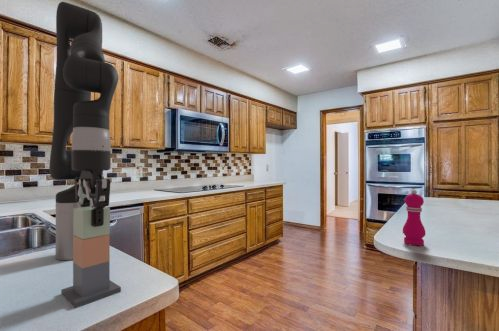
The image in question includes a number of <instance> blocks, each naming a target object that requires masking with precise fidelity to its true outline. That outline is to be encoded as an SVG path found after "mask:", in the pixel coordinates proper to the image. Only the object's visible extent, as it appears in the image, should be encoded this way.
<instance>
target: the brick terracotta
mask: <svg viewBox="0 0 499 331" xmlns="http://www.w3.org/2000/svg"><path fill="white" fill-rule="evenodd" d="M110 237H111V236H110V234H108V235H103V236H98V237H92V238H87V239H81V238H79V237H77V236H74V235H73V259H72V263H73V262H74V263H75V264H77V265H78V266H80V267H81V268H86V267H89V266H93V265H97V264H101V263H104V262H108V261H110V256H111V255H110V254H111V253H110V246H111V245H110V243H111V242H110V240H111V239H110ZM110 262H111V261H110Z"/></svg>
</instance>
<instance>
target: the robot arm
mask: <svg viewBox="0 0 499 331" xmlns="http://www.w3.org/2000/svg"><path fill="white" fill-rule="evenodd" d="M55 22H56V23H55V25H56V26H55V29H56V30H55V31H56V32H55V33H56V34H55V36H56V37H55V38H56V66H55V77H54V78H55V79H54V88H53V127H52V128H53V129H52V139H51V149H50V156H49V168H48V169H49V175H50V177H51V178H52V180H55V181H58V180H59V181H65V180H66V181H67V180H69V181H70V180H71V181H72V180H74V185H72V186H70V187H69V188H66V189H64V190H60V191H59V192H57V193H56V194H55V260H58V261H73V208H80V207H89V206H91V208H92V210H91V225H92V226H93V227H97V226H102V225H103V224H104V209H103V208H105V207H109V206H110V198H111V196H110V194H111V179H110V178H105V177H104V173H103V172H104V171H109V170H111V165H112V164H111V148H112V147H111V145H112V144H111V133H110V113H111V106H112V101H113V97H114V95H115V92H116V88H117V86H118V82H119V74H118V70H117V69H116V67H115V66H114V65H113V64H111V63H109V62H106V59H105V56H104V52H103V23H102V18H101V17H100V15H99V14H98V13H96V12H94V11H92V10H90V9H87V8H84V7H82V6H79V5H75V4H73V3H69V2H68V1H67V2H66V1H60V2H59V3H58V5H57V7H56V16H55ZM70 40H72V41H71V43H70ZM92 93H96V94H99V97H98V98H97V99H92ZM70 136H71V149H70V150H69V149H66V148H67V144H68V141H69V140H70Z"/></svg>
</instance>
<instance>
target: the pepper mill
mask: <svg viewBox="0 0 499 331" xmlns="http://www.w3.org/2000/svg"><path fill="white" fill-rule="evenodd" d="M404 203H405V205H406V207H405V208H406V209H405V211H407V219H406V221H405V223H404V225H403V227H402V234H403V235H404V236H405V237H403V242H405V243H404V244H406V243H407V244H406V245H408V244H411V245H410V246H413V245H423V246H425V240H424V239H423V238H424V237H425V236H426V228H425V226H424V224H423V223H422V221H421V220H422V219H421V212H423V210H422V209H423V207H422V206H424V203H425V201H424V197H423V196H422V195H420V194H418V192H417V190H416V189H411V193H409V194H407V195H406V196H405V197H404Z"/></svg>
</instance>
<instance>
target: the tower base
mask: <svg viewBox="0 0 499 331" xmlns="http://www.w3.org/2000/svg"><path fill="white" fill-rule="evenodd" d="M110 262H111V261H108V262H104V263H101V264H97V265H93V266H89V267H86V268H81V267H80V266H78V265H77V264H75V263H74V262H73V261H72V268H73V269H72V286H68V287H65V288H62V289H61V292H60V293H61V295H62V296H63V298H64V299H66V301H68V302H69V303H70V304H71V305H72V306H73V307H74V308H75V309H76V308H79V307H82V306H85V305H88V304H90V303H93V302H96V301H99V300H101V299H104V298H107V297H110V296H113V295H115V294H118V293H121V292H122V286H120V285H118V284H117V283H115V282H113V281H112V280H111V278H110V271H111V269H110Z"/></svg>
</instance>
